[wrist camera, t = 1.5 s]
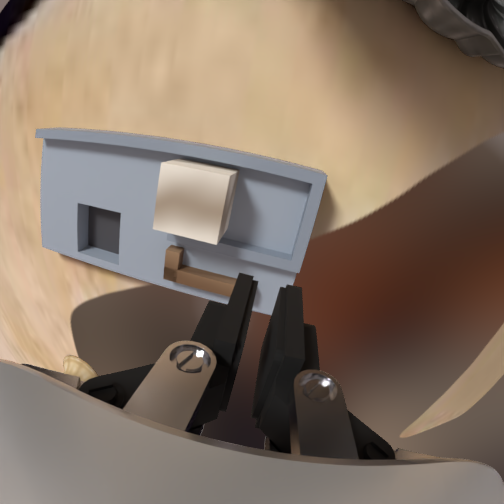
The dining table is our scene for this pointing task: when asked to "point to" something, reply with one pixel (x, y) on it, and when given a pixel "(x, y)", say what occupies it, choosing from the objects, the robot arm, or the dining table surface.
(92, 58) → the dining table surface
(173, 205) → the cream block
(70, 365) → the hand bell
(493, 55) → the bundt pan
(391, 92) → the dining table surface
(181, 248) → the crook tool
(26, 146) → the dining table surface
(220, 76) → the dining table surface
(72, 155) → the tray
